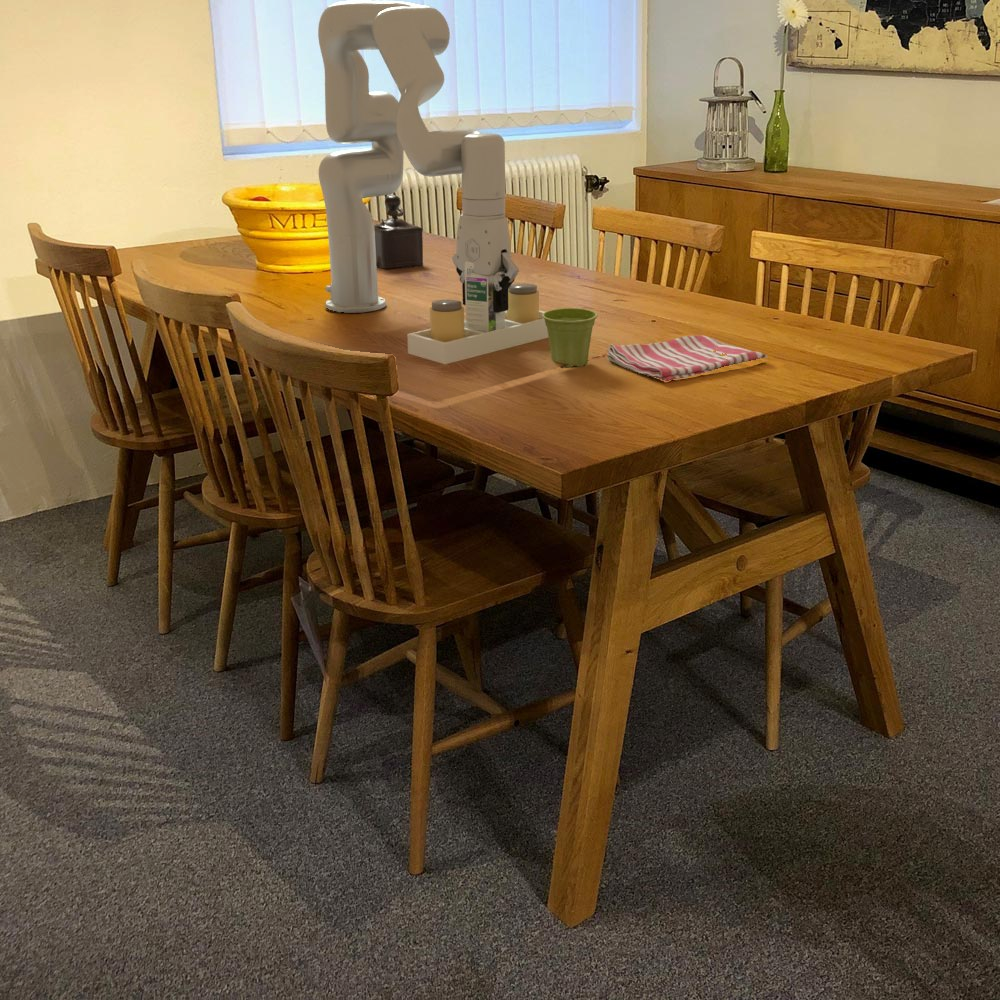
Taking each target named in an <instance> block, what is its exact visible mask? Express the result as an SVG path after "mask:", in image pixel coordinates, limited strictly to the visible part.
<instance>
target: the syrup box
mask: <svg viewBox="0 0 1000 1000" xmlns="http://www.w3.org/2000/svg"><path fill="white" fill-rule="evenodd" d="M498 272H499V270H498ZM499 280H500V281H501V280H502V278H501V276H499ZM493 290H496V288H495V286H494V283H493V276H482V275H479V274H477V273H475V270H474V264H473V263H472V262H469V261H466V262H465V303H466V305H465V320H466V328H468V329H472V330H476V331H480V332H484V333H486V332H490V331H494V330H498V329H502V328H505V311H503V312H498V313H495V312H494V311H493Z"/></svg>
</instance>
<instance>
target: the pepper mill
mask: <svg viewBox="0 0 1000 1000" xmlns="http://www.w3.org/2000/svg"><path fill="white" fill-rule="evenodd" d="M401 201H402V200H401V198H400V197H399V196H397V195H396V194H389V195H387V196H386V197H385V199H384V205H385V206H386V207H387V211H386V215H387V216H389V217H390V218H389V217H388V218H386V219H385V220H384V219H383V218H381V219H380V220H381V222H380V223H377V224H374V231H375V248H376V266H377V268H381V269H384V270H385V269H386V270H397V269H396V268H399V269H407V267H408V268H415V266H417V267H422V265H423V266H424V262H423V261H424V260H423V259H424V256H423V254H424V251H423V250H424V247H423V246H424V244H423V243H424V242H423V228H422V227H420V226H417V225H415V224H412V223H409V222H408V221H406V220H405V219H402V218H400V217H402V216H403V217H404V215H405V210H404V209H403V208H402V207H401ZM398 217H399V218H398Z"/></svg>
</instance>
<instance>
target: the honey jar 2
mask: <svg viewBox="0 0 1000 1000" xmlns="http://www.w3.org/2000/svg"><path fill="white" fill-rule="evenodd" d="M539 311H540V291H539V289H538V286H537V285H536V284H534V283H525V282H524V283H514V284H513V283H512V284H511V288H509V289H508V310H507V320H510V321H514V322H519V323H527V322H531V321H535V320H539Z"/></svg>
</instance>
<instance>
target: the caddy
mask: <svg viewBox="0 0 1000 1000" xmlns="http://www.w3.org/2000/svg"><path fill="white" fill-rule="evenodd" d="M544 312H545V311H543V310H539V320H535V321H531V322H527V323H519V322H514V321H510V320H507V311H505V328H502V329H498V330H494V331H490V332H486V333H484V332H480V331H476V330H472V329H468V328H466V319H464V331H465V338H461V339H457V340H453V341H449V342H441V341H438V340H434V339H431V332H430V328H427V329H423V330H418V331H415V332H410V333H407V334H406V336H407V354H408V355H413V356H416V357H420V358H422V359H425V360H428V361H432V362H436V363H439V364H442V365H447V364H448V365H449V364H452V363H456V362H459V361H463V360H467V359H471V358H474V357H478V356H482V355H487V354H491V353H494V352H498V351H501V350H502V351H503V350H506V349H509V348H513V347H517V346H520V345H524V344H525V345H526V344H528V343H532V342H537V341H540V340H544V339H549V336H548V330H547V326H546V324H545V319H544V318H543V317H542V314H543V313H544Z"/></svg>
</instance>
